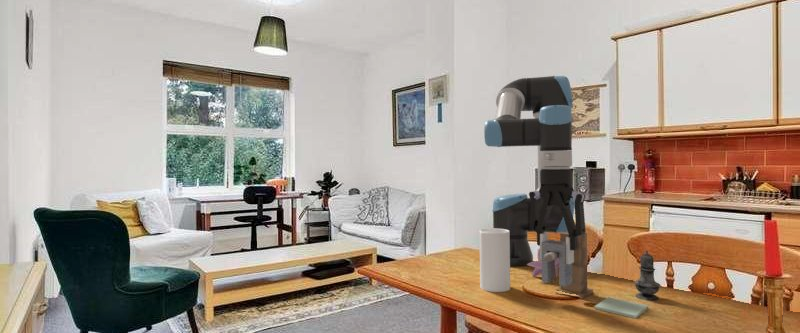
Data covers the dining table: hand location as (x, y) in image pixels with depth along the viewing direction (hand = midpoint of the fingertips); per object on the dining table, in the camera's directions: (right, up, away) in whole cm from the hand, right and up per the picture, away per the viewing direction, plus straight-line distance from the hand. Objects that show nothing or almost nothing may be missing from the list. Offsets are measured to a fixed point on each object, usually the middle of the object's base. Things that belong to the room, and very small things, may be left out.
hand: (556, 260), depth 106 cm
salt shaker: (+24, -10, +3) cm, 26 cm away
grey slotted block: (0, -5, 0) cm, 5 cm away
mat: (+14, -10, -5) cm, 18 cm away
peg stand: (+3, -10, +3) cm, 11 cm away
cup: (-12, -11, +13) cm, 21 cm away
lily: (+5, -10, +20) cm, 23 cm away
